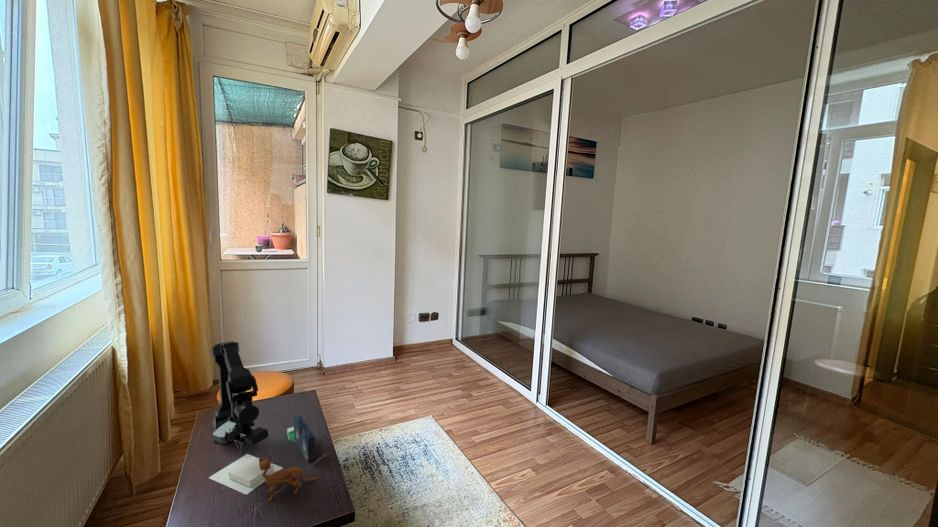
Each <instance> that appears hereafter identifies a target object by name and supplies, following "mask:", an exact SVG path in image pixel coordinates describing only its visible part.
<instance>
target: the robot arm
mask: <svg viewBox="0 0 938 527" xmlns="http://www.w3.org/2000/svg"><path fill="white" fill-rule="evenodd" d="M239 345H240V344H239V342H237V341H234V340H230V341H225V342H219V343H214V344H213V346H211V347H210V356H211V358H212V360H213V361H214V362H215V363H216V364H217V366H218V380H219V381H218V385H219V404H218V405H217V408H216V409H215V415H214V417H213V420H212V427H213V430H214V431H213V433H212V436H213V437H214V439H215V440H214V441H213V442H214V444H216V445H222V446H223V447H225V446H228V445H229V444H231V443H233V442H234V443H235V445H236V446H235V447H237V450H238V452H239V454H240V455H245V453H246V451H247V449H248V447H249V446H255V445H257V444H258V443H260V442H262V441H263V440H265V439H267V438H269V436H270V435H269V434H270V433H269V429H267V428H264V427H261V426H258V427H256V428H255V427H254V426H255V424H256V423H255V422H254V421H255V420H257V419H258V417H259V415H260V409H259V408H258V406H257V405H256V403H255V402H254V401H253V397H257V396H258V392H259V388H258V383H257V379H256V378H255V376H254V375H252V372H251V371H250V369H249V368H246V367H244V365H243V362H242V359H241V356H240V353H239V352H240V346H239Z"/></svg>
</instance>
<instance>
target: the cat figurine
mask: <svg viewBox="0 0 938 527" xmlns="http://www.w3.org/2000/svg"><path fill="white" fill-rule="evenodd" d="M258 458H259V466H260V470H265V471H264V473H263V474H262V476H264V477H265V483H266V484H267V485H268V486H269V487H268V488H269V489H268V490H267V493H268V494H271V496H270V498H268V499H267V500H266V503H269V502H271V501H272V500H274V498H275V488H276V485H279V484H285V483H288V485H290V486H292V487H294V488H295V490H294V492H292V495H294V494H296V493H297V492H298V491H299V489H300V488H301V487H302V483H300V482H299V480H298V478H299V476H300V478H301V480H302V481H303V482H306V483H307V482H312V481H314V480H317V479H319V477H318V476H314V477H312V478H306V477H305V474H304V473H305V472H304V470H303V469H302V468H301V467H297V466H292V467H287V468H283V469H281V470H279V471H277V472H275V473H273V474H270V475H266V473H267V470H268V469H269V468H270V467H271V463H272V459H271V458H272V455H269V456H268V457H267V458H265V459H263V458H260V457H258Z"/></svg>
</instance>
